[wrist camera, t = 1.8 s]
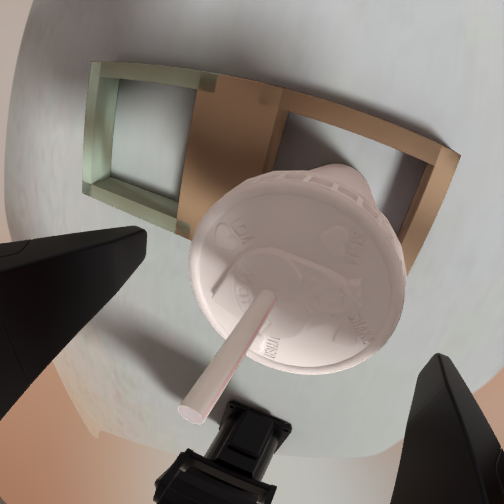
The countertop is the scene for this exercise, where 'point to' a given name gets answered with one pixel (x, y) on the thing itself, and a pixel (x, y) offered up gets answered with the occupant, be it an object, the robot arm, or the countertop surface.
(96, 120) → the caddy
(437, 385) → the robot arm
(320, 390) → the countertop surface
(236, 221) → the smoothie
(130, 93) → the countertop surface
